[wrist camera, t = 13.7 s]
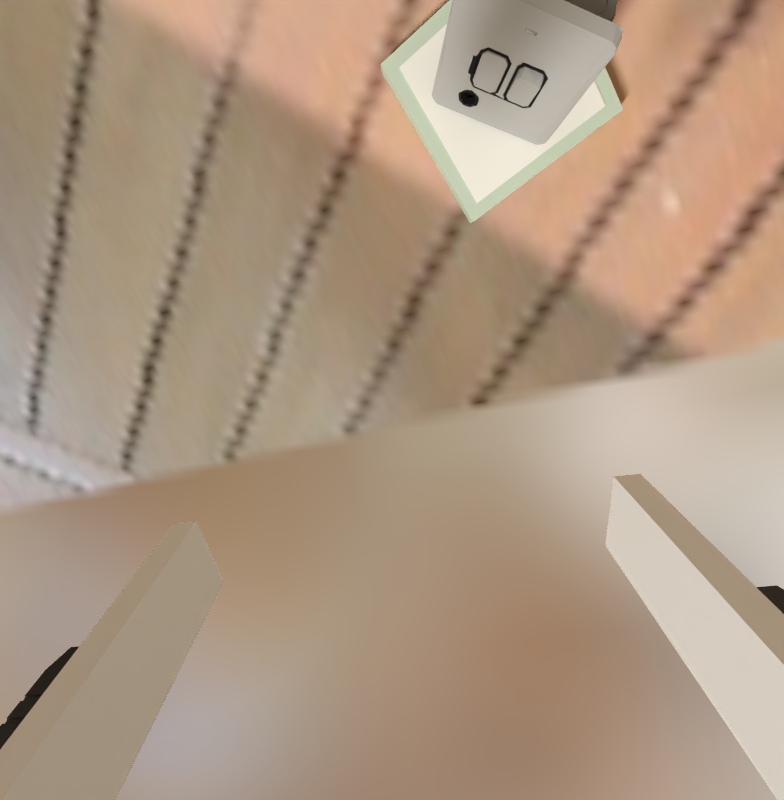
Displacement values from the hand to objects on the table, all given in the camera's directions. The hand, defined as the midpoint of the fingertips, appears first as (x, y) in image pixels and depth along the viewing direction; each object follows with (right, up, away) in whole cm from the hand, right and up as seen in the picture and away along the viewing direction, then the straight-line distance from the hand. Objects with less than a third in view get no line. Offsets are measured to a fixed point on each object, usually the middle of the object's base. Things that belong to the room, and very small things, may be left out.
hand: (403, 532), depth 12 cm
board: (+8, +28, +17) cm, 34 cm away
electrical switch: (+8, +28, +16) cm, 33 cm away
